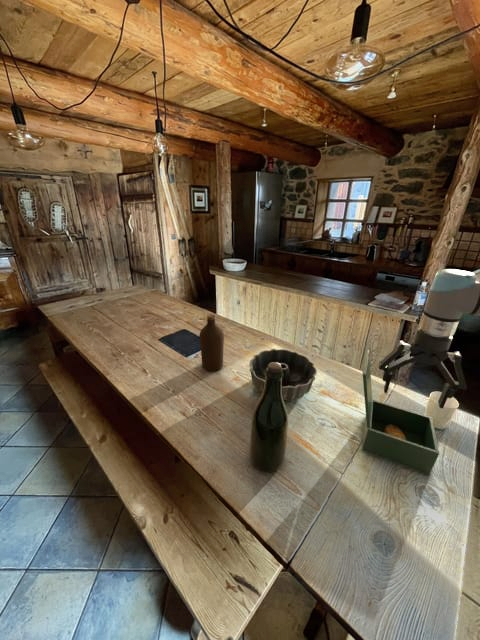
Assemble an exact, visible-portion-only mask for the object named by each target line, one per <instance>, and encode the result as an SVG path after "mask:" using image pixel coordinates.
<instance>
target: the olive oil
mask: <svg viewBox="0 0 480 640" xmlns="http://www.w3.org/2000/svg"><path fill="white" fill-rule="evenodd" d="M198 337H199V339H198V340H199V347H200V356H201V366H202V367H201V368H202V369H203V370H205V371H206V372H217V371H220V370H222V369H223V367H224V346H225V334H224V330H223V329H222V328H221V327H220V326H219V324H216V316H215V314H208V315H207V316H206V324H205V325H204V326H203V327H202V328H201V330H200V332H199V335H198Z"/></svg>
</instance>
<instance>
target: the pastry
mask: <svg viewBox="0 0 480 640" xmlns="http://www.w3.org/2000/svg"><path fill="white" fill-rule="evenodd" d="M384 433H385V434H388V435H391V436H394V437H397V438H400V439H403V440H406V441H407V439H406V437H405V435H404V434H403V433H402V431H401V429H399V427H397V426H394V425H392V424H389V425H387V426H386V427H385V429H384Z"/></svg>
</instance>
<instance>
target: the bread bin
mask: <svg viewBox="0 0 480 640" xmlns="http://www.w3.org/2000/svg"><path fill="white" fill-rule="evenodd" d="M389 424H392V425H394V426H397V427H399V429H401V431H402V433H403V434H404V435H405V437H406V439H407V441H406V440H403V439H400V438H397V437H394V436H391V435H388V434H385V433H384V429H385V427H386V426H387V425H389ZM439 450H440V449H439V445H438V440H437V435H436V431H435V428H434V425H433V420H432V417H429V416H426V415H424V413H422V414H421V413H419V412H416V411H412V410H410V409H406V408H403V407H398V406H396V405H392V404H389V403H385V402H382V401H379V400H375V399H372V408H371V421H370V428H367V422H366V416H364V424H363V436H362V445H361V451H363V452H366V453H369V454H370V455H371V454H372V455H374V456H377V457H379V458H382V459H384V460H388V461H390V462H392V463H395V464H398V465H401V466H403V467H406V468H409V469H411V470H413V471H417V472H419V473H422V474H425V475H426V476H427V475H428V476H430V474H431V472H432V471H433V468H434V466H435V464H436V462H437V460H438V458H439V456H440V451H439Z"/></svg>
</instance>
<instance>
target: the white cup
mask: <svg viewBox="0 0 480 640" xmlns="http://www.w3.org/2000/svg"><path fill="white" fill-rule="evenodd" d="M441 393H442V391H432V392H430V394H429V397H428V400H427V403H426V406H425V410H424V413H423V415H426V416H429V417H432V420H433V425H434V429H439V430H445V429H446V427H447V426H448V424H449V423H450V421H451V420H452V419H453V417H454V416H455V413H456V412H457V410H458V409H459V406H460V403H459V402H458V400H457V398H455V397H454V396H453V397H452V398H447V400H446V403H445V405H444V407H443V409H442V408H440V407H439V403H438V401H439V398H440V396H441Z"/></svg>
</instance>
